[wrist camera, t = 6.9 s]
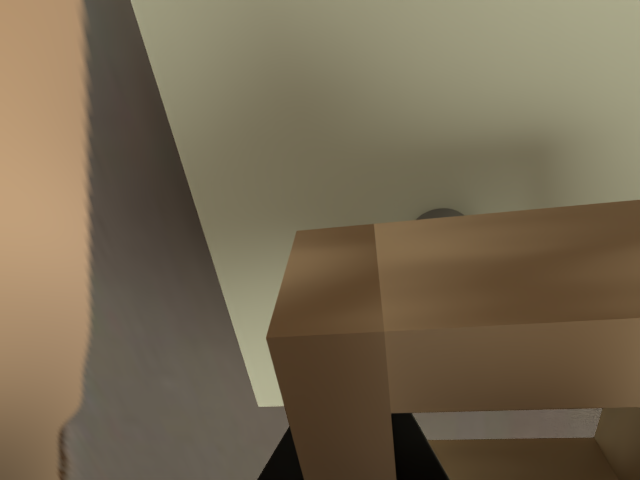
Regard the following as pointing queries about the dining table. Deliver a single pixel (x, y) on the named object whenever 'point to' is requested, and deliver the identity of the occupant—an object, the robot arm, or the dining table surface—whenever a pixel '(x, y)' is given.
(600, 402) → the square wooden frame
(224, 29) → the pale green base plate
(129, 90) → the dining table surface
